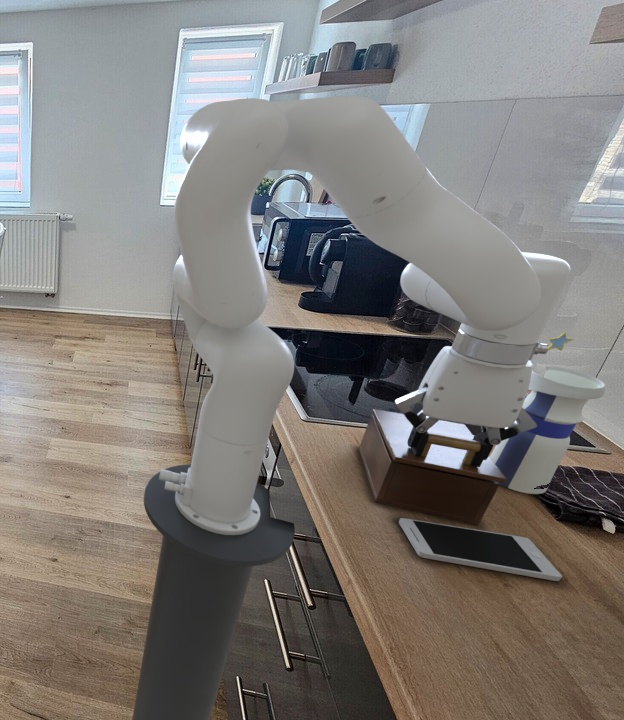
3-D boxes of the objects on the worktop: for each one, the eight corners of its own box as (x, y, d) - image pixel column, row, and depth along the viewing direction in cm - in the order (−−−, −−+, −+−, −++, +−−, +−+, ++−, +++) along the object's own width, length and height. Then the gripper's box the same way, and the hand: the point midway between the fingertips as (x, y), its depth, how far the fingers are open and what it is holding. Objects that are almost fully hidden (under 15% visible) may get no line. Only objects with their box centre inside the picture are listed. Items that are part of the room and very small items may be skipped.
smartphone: (560, 582, 65) (564, 577, 64) (419, 557, 69) (421, 552, 68) (525, 542, 71) (528, 537, 70) (397, 521, 75) (399, 516, 75)
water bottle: (465, 467, 86) (528, 335, 75) (502, 459, 87) (570, 328, 77) (521, 499, 79) (600, 357, 68) (561, 489, 80) (645, 349, 69)
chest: (478, 525, 74) (499, 484, 71) (375, 502, 79) (391, 462, 76) (445, 465, 86) (463, 428, 83) (358, 448, 92) (371, 412, 88)
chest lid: (504, 483, 70) (518, 456, 68) (393, 461, 75) (403, 435, 73) (463, 428, 83) (473, 404, 81) (371, 412, 88) (379, 389, 86)
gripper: (565, 345, 66) (508, 455, 74) (404, 328, 73) (368, 431, 81) (597, 369, 60) (532, 486, 68) (418, 348, 67) (378, 457, 75)
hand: (443, 455), depth 74 cm, fingers closed on chest lid, 6 cm apart
